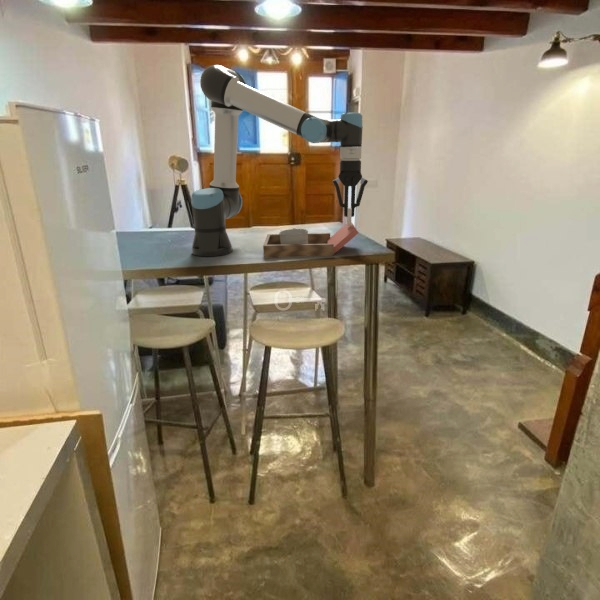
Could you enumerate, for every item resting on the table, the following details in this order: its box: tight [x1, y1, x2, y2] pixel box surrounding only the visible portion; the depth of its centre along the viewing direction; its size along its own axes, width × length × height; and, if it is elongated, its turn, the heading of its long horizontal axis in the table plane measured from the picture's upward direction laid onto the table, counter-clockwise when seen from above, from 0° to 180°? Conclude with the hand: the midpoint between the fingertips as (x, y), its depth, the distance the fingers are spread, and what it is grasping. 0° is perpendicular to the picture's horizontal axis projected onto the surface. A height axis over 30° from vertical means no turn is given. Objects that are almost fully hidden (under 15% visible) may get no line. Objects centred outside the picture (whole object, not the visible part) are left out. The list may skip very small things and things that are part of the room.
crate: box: [262, 232, 335, 259], centre depth 161 cm, size 25×20×4 cm
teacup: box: [278, 228, 309, 245], centre depth 161 cm, size 14×11×8 cm
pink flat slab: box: [327, 221, 359, 255], centre depth 160 cm, size 2×17×12 cm
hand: (348, 225), depth 159 cm, fingers closed
